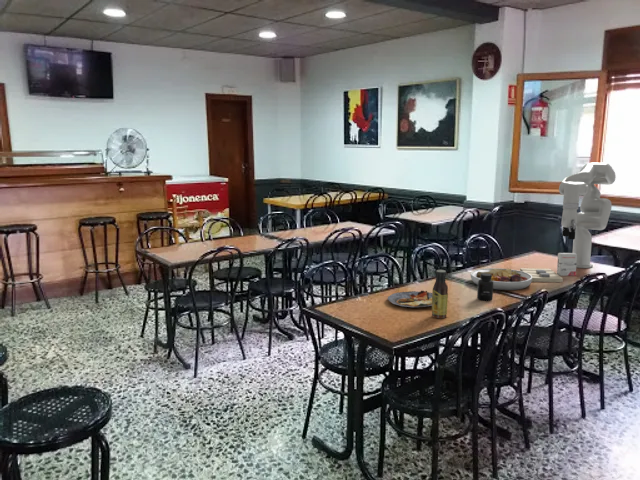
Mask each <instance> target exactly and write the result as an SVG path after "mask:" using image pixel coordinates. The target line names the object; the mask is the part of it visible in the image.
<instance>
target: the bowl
mask: <svg viewBox="0 0 640 480" xmlns="http://www.w3.org/2000/svg"><path fill="white" fill-rule="evenodd" d="M482 273H487V274H491V275H492V277H491V278H492V279H491V280H492V281H493V290H499V291H501V290H502V291H515V290H516V291H517V290H522V289H525V288H527V287H529V286H530V285H531V284H532V283H533V282H532V276H531V275H530V274H528V273H526V272H522V271H520V270H518V269H512V268H502V267H501V268H496V267H495V268H494V267H490V268H488V267H487V268H478V269H475V270H471V272H470V279H471V281H472V282H473V283H474V284H475V285H477V286H478V281H479V280H480V279H481V278H480V277H481V274H482Z"/></svg>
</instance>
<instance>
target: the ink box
mask: <svg viewBox="0 0 640 480" xmlns="http://www.w3.org/2000/svg"><path fill="white" fill-rule="evenodd" d="M576 263H577V254H575V253H572V252H558V253H557V266H556V267H557V268H556V274H558V275H559V276H560V277H563V276H564V277H567V276H577V267H576Z"/></svg>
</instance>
